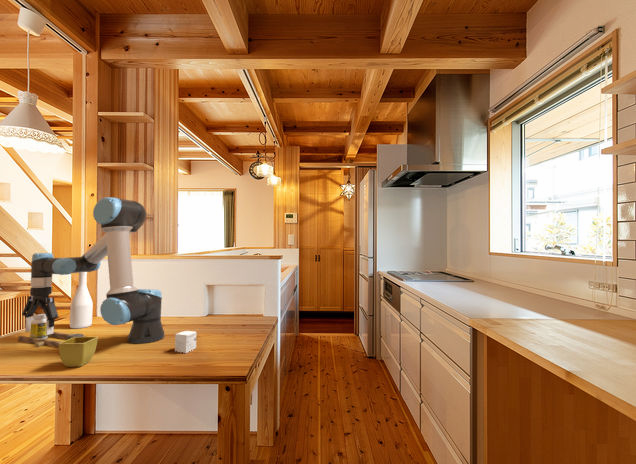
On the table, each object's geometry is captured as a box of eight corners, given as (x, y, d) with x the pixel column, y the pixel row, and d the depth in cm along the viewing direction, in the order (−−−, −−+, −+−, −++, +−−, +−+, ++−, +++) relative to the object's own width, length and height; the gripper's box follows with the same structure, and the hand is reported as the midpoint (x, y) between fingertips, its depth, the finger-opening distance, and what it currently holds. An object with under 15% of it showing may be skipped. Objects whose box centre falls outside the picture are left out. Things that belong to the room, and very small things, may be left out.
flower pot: (73, 360, 122) (74, 336, 122) (97, 359, 122) (98, 336, 123) (56, 369, 113) (57, 343, 113) (82, 369, 114) (83, 343, 114)
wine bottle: (83, 329, 164) (85, 270, 165) (64, 328, 164) (67, 270, 165) (96, 324, 174) (98, 269, 175) (78, 324, 174) (81, 268, 175)
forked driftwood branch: (98, 340, 146) (98, 331, 146) (63, 350, 132) (63, 341, 132) (49, 333, 156) (49, 325, 156) (11, 342, 141) (12, 333, 141)
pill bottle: (37, 341, 143) (38, 316, 144) (26, 340, 145) (27, 316, 145) (51, 337, 149) (52, 313, 150) (40, 336, 151) (41, 313, 151)
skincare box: (186, 353, 131) (186, 335, 131) (174, 351, 133) (174, 333, 133) (196, 349, 136) (196, 331, 137) (185, 347, 138) (185, 330, 139)
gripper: (69, 286, 148) (67, 333, 147) (32, 284, 155) (30, 328, 154) (51, 289, 140) (49, 337, 140) (13, 285, 148) (11, 332, 147)
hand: (39, 332), depth 147 cm, fingers open, 13 cm apart
